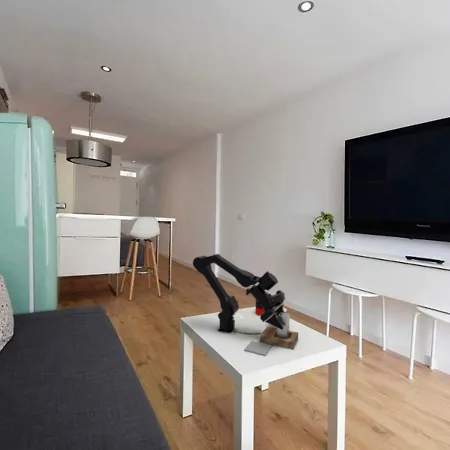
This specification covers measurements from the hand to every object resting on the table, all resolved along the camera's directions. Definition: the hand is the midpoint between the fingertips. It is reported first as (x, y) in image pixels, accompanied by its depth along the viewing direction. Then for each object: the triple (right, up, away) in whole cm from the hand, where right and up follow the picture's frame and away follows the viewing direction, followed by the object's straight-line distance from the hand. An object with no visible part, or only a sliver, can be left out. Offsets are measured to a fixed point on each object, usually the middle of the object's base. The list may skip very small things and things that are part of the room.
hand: (285, 325), depth 125 cm
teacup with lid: (0, -7, +17) cm, 18 cm away
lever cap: (-1, -7, +1) cm, 7 cm away
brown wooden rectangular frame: (-2, -7, +1) cm, 8 cm away
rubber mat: (-13, -7, -7) cm, 16 cm away
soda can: (-6, -6, +35) cm, 36 cm away
